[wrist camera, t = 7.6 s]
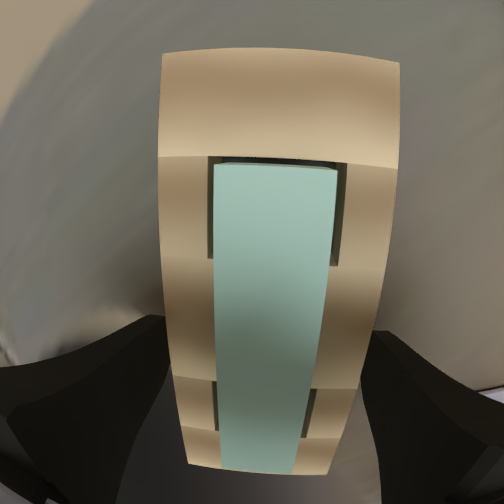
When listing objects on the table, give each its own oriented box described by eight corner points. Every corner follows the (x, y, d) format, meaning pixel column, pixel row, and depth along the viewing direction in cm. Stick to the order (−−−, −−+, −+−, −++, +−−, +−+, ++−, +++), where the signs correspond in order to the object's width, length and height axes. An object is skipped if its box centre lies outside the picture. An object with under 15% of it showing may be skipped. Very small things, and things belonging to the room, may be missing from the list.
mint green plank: (292, 399, 16) (291, 473, 11) (237, 395, 16) (221, 468, 11) (316, 164, 12) (337, 170, 7) (241, 160, 12) (214, 164, 8)
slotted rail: (324, 444, 17) (326, 474, 14) (197, 434, 17) (188, 463, 15) (379, 78, 11) (399, 62, 8) (184, 70, 11) (162, 53, 9)
